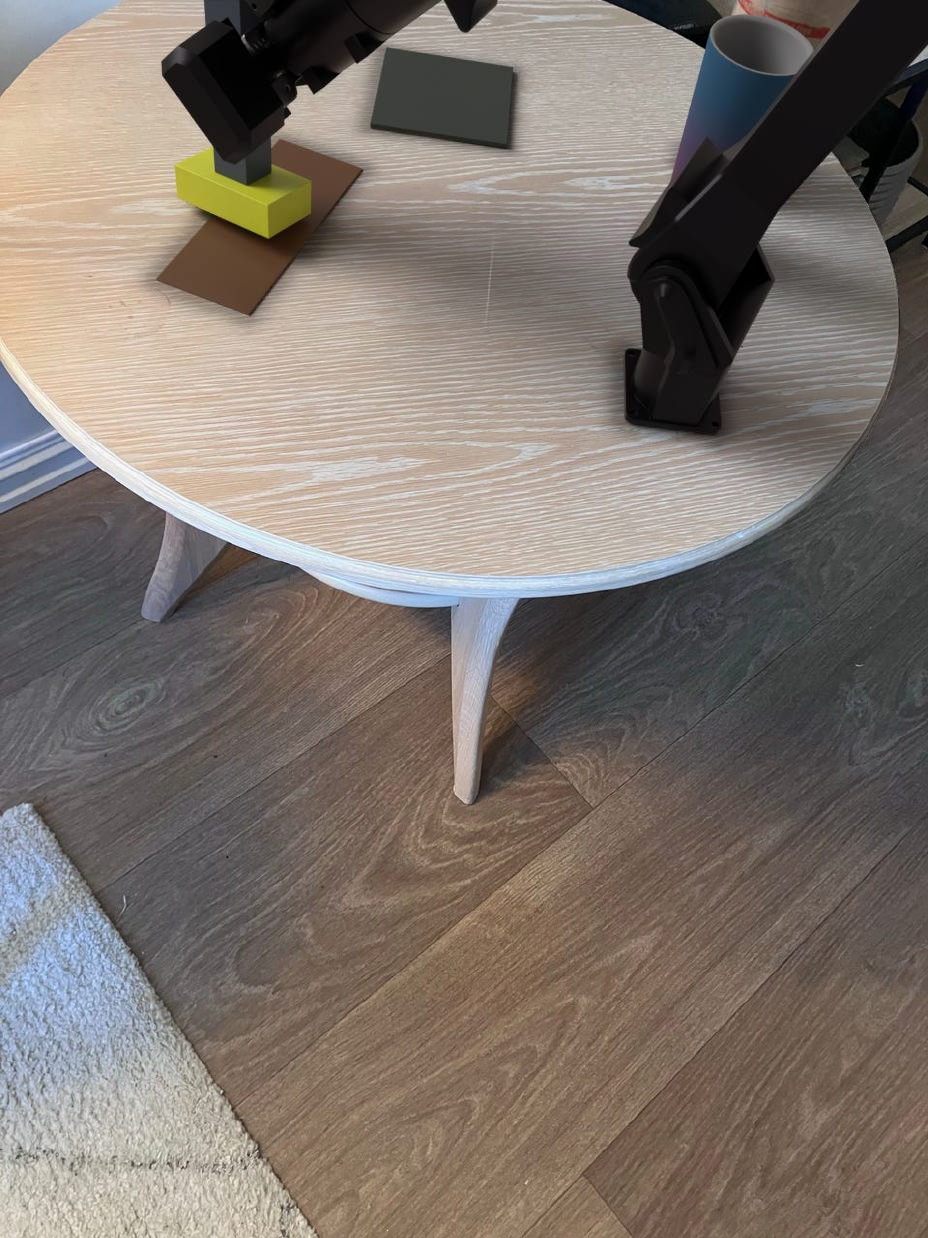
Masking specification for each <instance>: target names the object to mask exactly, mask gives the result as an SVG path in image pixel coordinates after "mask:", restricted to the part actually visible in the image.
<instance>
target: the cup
mask: <svg viewBox="0 0 928 1238" xmlns="http://www.w3.org/2000/svg"><path fill="white" fill-rule="evenodd" d="M813 51H814V49H813V47H812V45H811V44H810V42H809V41H808V40H807V39H806V38H805V37H804V36H803V35H802V34H801V33H800V32H798V31H797V30H795V29H794V28H792V27H790V26H789V25H787V24H784V23H782V22H780V21H777V20H774V19H771V18H768V17H763V16H758V15H750V14H739V15H732V14H730V15H728V16H724V17H722V18H721V19H718V20H717V21H716V22H715V23H714V24H713V25H712V26H711V28H710V31H709V34H708V38H707V41H706V46H705V48H704V52H703V57H702V60H701V64H700V67H699V71H698V75H697V80H696V83H695V87H694V90H693V93H692V97H691V101H690V106H689V109H688V113H687V116H686V119H685V124H684V128H683V132H682V134H681V139H680V143H679V147H678V151H677V153H676V157H675V162H674V164H673V165H674V166H673V169H672V173H671V177H670V181H669V183H670V182H671V181H673V180H675V179H676V178H677V177H678V175H679V174H680V172H681V171H682V169H683V168H684V166H685V165H686V163H687V162H688V160H689V159H690V158H691V156H692V155H693V153H694V152H695V150H696V149H697V147H698V146H699V144H700V143H701V142H702V140H703V139H704V137H708V138H709V139H710V140H711V141H712V142H713V144H714V145H715V146H716V147H717V148H718V149H719V150H720V152H721V153H723V152H724V151H726V150H727V149H729V148H730V147H732V146H733V145H735V144H736V143H738V142H739V141H740V140H742V139H743V138H744V137H745V136H746V135H747V134H748V133H749V132H750V131H751V130H752V128H753V127H754V126H755V125H756V123H757V122H758V121H759V119H760V118H761V117H762V116H763V114H764V113H765V112H766V111H767V109H768V108H769V107H770V106H771V104H772V103H773V102H774V101H775V99H776V98H777V97H778V95H779V94H780V93H781V92H782V90H783V89H784V88H785V87H786V85H787V84H788V83H789V82H790V80H791V79H792V78H793V76H794V75H795V74H796V73H797V71H798V70H799V69H800V68H801V66H802V65H803V64H804V63H805V61H806V60H807V59H808V57H809V56H810V55H811V54H812V52H813Z"/></svg>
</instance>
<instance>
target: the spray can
mask: <svg viewBox="0 0 928 1238" xmlns="http://www.w3.org/2000/svg"><path fill="white" fill-rule="evenodd" d="M852 2H853V0H736V1H735V3H734V7H733V9H732V12H731V15H739V14H750V15H758V16H763V17H768V18H771V19H774V20H777V21H780V22H782V23H784V24H787V25H789V26H790V27H792V28H794V29H795V30H797V31H798V32H800V33H801V34H802V35H803V36H804V37H805V38H806V39H807V40H808V41H809V42H810V44H811V45H812V47H813V49H814V50H815V49H816V47H817V46H818V45H819V44H820V42H821V41H822V40H823V38H824V37H825V36H826V35H827V33H828V32H829V31H830V30H831V28H832V27H833V26H834V25H835V23H836V22H837V21H838V19H839V18H840V17H841V16H842V14H843V13H844V12H845V11H846V9H847V8H848V7H849V6H850V4H851V3H852Z"/></svg>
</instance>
